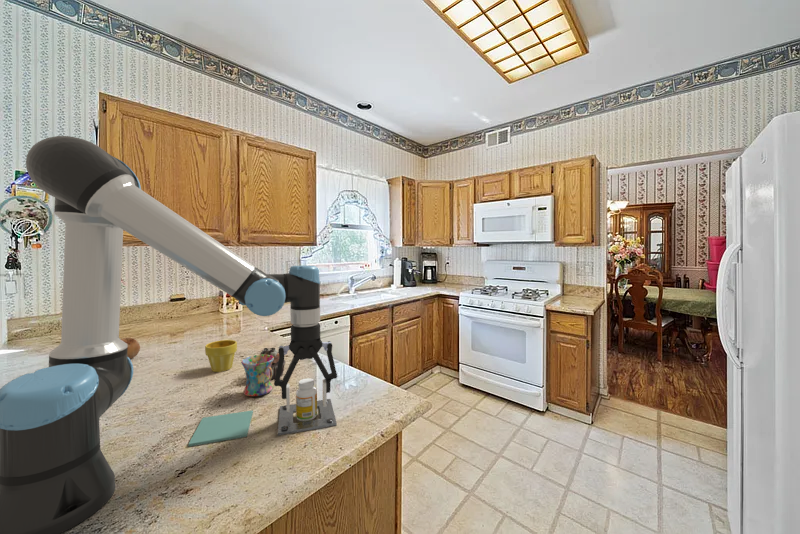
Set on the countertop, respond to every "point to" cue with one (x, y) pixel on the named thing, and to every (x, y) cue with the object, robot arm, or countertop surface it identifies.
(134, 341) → the brown oval lump
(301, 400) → the supplement bottle
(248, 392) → the mug
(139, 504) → the countertop surface
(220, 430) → the mat
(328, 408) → the flange plate
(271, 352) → the cupcake
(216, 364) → the plant pot
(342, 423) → the countertop surface
